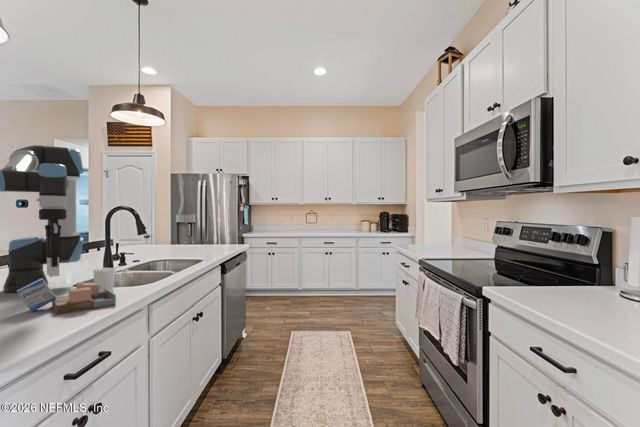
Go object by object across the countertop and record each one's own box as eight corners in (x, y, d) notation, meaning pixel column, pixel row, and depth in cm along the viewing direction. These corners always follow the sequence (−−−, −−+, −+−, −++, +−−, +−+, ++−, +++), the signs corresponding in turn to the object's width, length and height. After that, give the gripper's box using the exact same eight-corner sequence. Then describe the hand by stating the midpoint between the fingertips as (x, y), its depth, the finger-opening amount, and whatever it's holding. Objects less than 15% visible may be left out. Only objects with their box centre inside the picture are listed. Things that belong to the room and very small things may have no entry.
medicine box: (31, 312, 116) (16, 292, 113) (30, 309, 119) (16, 289, 117) (57, 298, 121) (43, 279, 118) (55, 296, 124) (42, 277, 122)
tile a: (74, 293, 127) (77, 283, 128) (89, 292, 133) (91, 282, 134) (83, 295, 126) (86, 285, 127) (97, 294, 132) (100, 284, 132)
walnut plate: (52, 306, 124) (52, 298, 124) (86, 300, 131) (86, 293, 131) (57, 314, 114) (57, 305, 114) (93, 308, 121) (93, 300, 121)
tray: (85, 300, 131) (85, 290, 131) (106, 297, 136) (106, 287, 136) (93, 308, 121) (93, 297, 121) (115, 304, 126) (115, 294, 126)
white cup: (104, 294, 141) (104, 271, 140) (88, 293, 142) (88, 270, 142) (119, 290, 148) (119, 268, 148) (104, 289, 150) (104, 267, 150)
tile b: (69, 300, 121) (69, 289, 121) (88, 297, 125) (88, 287, 125) (71, 303, 117) (71, 292, 117) (91, 300, 122) (91, 289, 122)
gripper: (36, 208, 119) (36, 273, 120) (42, 208, 107) (42, 280, 107) (62, 208, 125) (62, 270, 125) (70, 208, 113) (70, 277, 113)
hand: (53, 274), depth 116 cm, fingers open, 4 cm apart
